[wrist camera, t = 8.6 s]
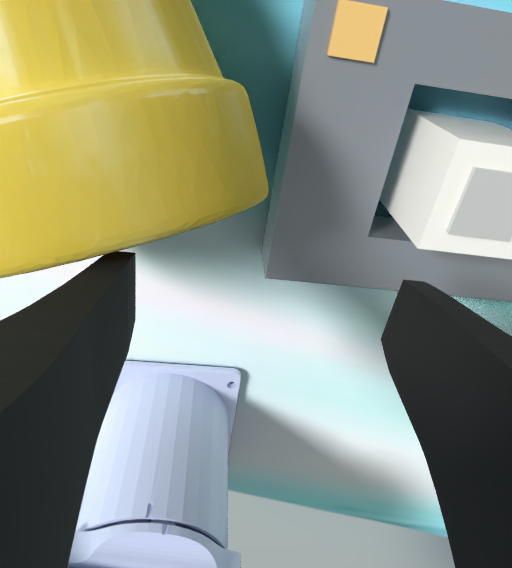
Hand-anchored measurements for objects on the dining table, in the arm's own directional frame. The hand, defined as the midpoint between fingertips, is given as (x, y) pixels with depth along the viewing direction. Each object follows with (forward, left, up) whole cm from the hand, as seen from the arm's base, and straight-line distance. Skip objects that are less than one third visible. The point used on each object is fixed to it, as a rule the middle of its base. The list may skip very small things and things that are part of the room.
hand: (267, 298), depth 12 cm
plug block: (+2, -8, -10) cm, 13 cm away
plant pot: (+9, +8, -6) cm, 13 cm away
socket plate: (+2, -8, -9) cm, 13 cm away
